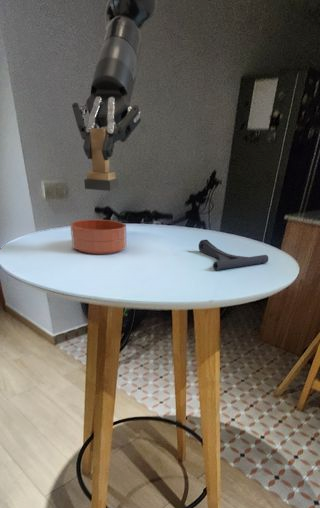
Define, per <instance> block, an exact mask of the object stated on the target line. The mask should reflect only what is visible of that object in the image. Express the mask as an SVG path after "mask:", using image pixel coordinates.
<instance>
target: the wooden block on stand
mask: <svg viewBox="0 0 320 508" xmlns="http://www.w3.org/2000/svg"><path fill="white" fill-rule="evenodd" d="M107 133H108V132H107V128H102V129H99V128H90V135H91V152H92V159H91V168H92V169H91V170H90V171H86V178H84V179H83V180H84V181H83V183H84V189H85V190H94V191H105V192H107V191H108V192H110V191H114V190H117V189H119V179H118V178H116V171H110V158H109V159H108V160H104V158H103V155H102V146H103V142H104V139H105V135H106V134H107Z"/></svg>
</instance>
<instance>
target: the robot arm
mask: <svg viewBox="0 0 320 508" xmlns="http://www.w3.org/2000/svg"><path fill="white" fill-rule="evenodd" d="M157 7H158V0H108V1H107V3H106V6H105V9H104V10H105V11H104V23H105V24H104V28H105V35H104V37H103V42H102V47H101V49H100V51H99V53H98V57H97V61H96V65H95V69H94V73H93V78H92V81H91V86H90V95H89V97H88V98H87V99H86V100H85V103H84V104H81V105H79V103H78V102H74V103H72V105H71V108H72V111H73V114H74V118H75V122H76V126H77V128H78V131H79V134H80V137H81V139H82V140H84V142H83V146H82V148H83V151H84V154H85V156H86V157H87V160H92V152H91V135H90V128H99V129H104V128H105V127H106V129H107V132H108V133H107V134H106V135H105V139H104V142H103V146H102V155H103V158H104V160H108V159H109V160H110V158H111V157H112V156H113V152H114V149H115V145H116V144H117V142H119V141H120V143H125V142H126V141H127V140H128V138H129V137H130V136H131V135H132V134H133V132H134V131H135V129H136V128H137V127H138V125H139V124H140V123H141V121H142V118H141V111H140V107H139V105H138V104H137V105H133V106H131V105H130V104H131V99H132V95H133V90H134V85H135V84H136V78H137V77H136V76H137V70H138V69H137V68H138V67H137V66H138V63H139V62H138V61H139V57H140V52H141V46H142V35H141V32H140V30H141V29H142V28H143V27H144V26H145V25H146V24H147V23H148V22H149V20H150V19H152V17H153V16H154V15H155V13H156V11H157ZM87 114H89V116H88V123H87V126H86V125H85V121H86V120H87V119H86V118H87Z"/></svg>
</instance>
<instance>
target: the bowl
mask: <svg viewBox="0 0 320 508" xmlns="http://www.w3.org/2000/svg"><path fill="white" fill-rule="evenodd" d="M69 225H70V226H69V227H70V238H71V246H72V247H73V248H74V249H76V250H77V251H79V252H81V253H84V254H89V255H90V254H91V255H111V254H116V253H117V254H118V253H120V252H121V251H123V250H125V248H127V224H126V223H123V222H121V221H118V220H110V219H80V220H76V221H75V220H74V221H73V222H71V223H70V224H69Z"/></svg>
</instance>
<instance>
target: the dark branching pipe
mask: <svg viewBox="0 0 320 508" xmlns="http://www.w3.org/2000/svg"><path fill="white" fill-rule="evenodd" d="M198 250H199V252H201V254H204V255H207V256H210V257H213V258H215V259H218V260H216V261H214V262H213V264H212V269H213V270H214V271H220V270H227V269H228V270H229V269H233V268H240V267H246V266H254V265H260V264H267V263H268V262H269V255H267V254H261V255H254V256H240V255H235V254H231V253H227V252H225V251H223V250H221V249H219V248H218V247H216V246H215V245H214V244H212V242H210V241H209V240H208V239H201V240H200V241H199V243H198Z"/></svg>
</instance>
